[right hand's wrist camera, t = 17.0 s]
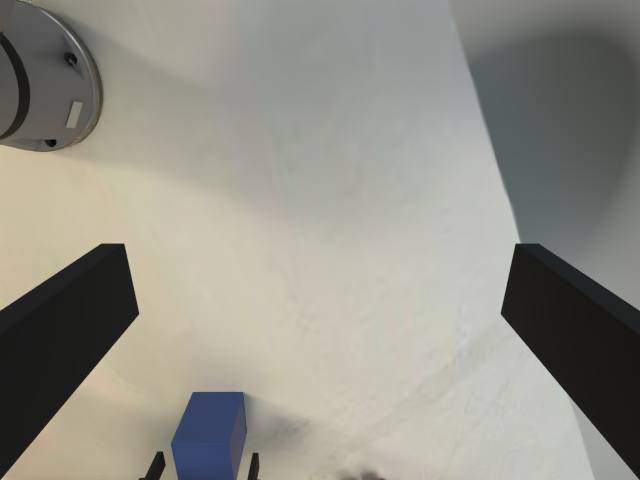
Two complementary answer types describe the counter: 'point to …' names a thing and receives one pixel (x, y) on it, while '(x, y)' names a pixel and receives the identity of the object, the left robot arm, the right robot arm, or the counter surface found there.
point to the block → (210, 437)
